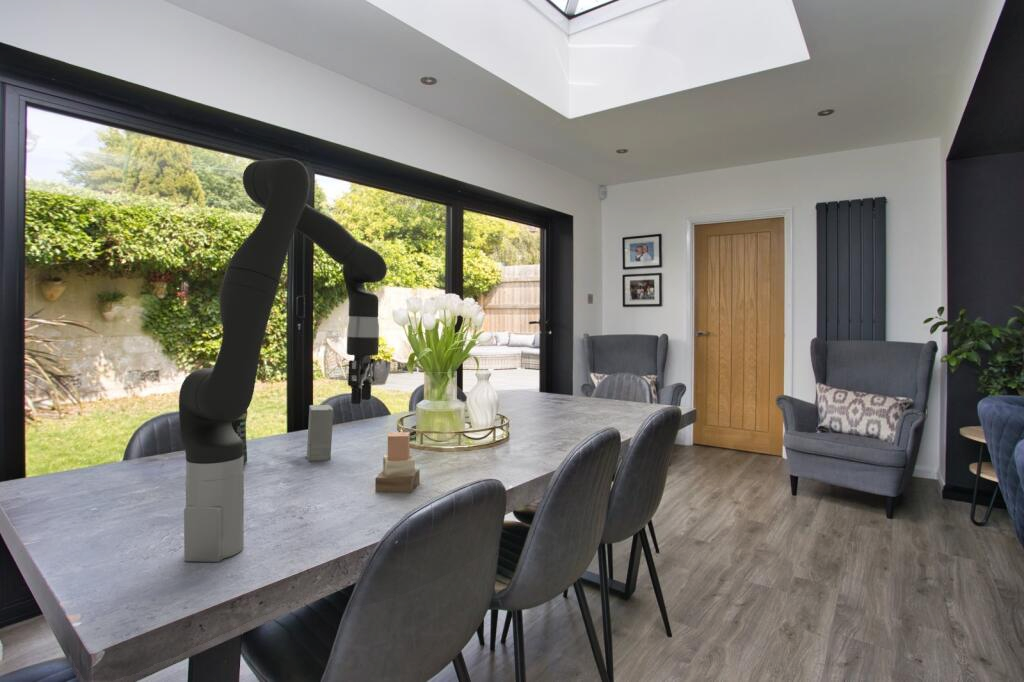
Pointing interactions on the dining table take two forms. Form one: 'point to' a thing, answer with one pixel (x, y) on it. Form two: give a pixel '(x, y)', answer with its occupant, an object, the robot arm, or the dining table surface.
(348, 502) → the dining table surface
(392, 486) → the tower base
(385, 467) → the tower middle
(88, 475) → the dining table surface
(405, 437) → the peach cube on top
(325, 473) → the dining table surface
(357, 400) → the robot arm
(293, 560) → the dining table surface
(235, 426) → the coffee jar
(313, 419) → the skincare box
